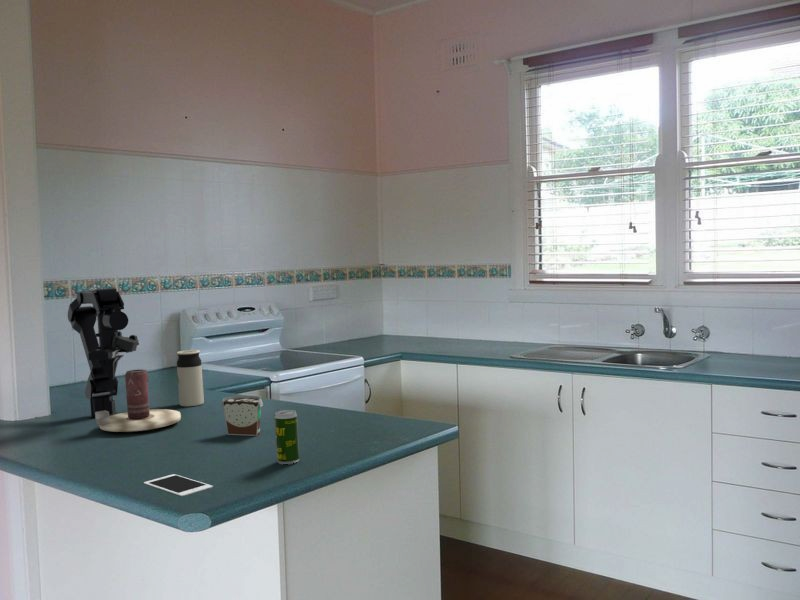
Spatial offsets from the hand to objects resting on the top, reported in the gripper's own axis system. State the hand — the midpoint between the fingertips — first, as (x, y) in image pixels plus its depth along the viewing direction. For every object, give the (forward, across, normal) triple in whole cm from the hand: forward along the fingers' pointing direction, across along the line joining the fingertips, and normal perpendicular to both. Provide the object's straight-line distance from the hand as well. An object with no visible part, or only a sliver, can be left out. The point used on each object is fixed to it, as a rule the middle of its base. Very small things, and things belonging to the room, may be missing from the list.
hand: (112, 379), depth 245 cm
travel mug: (+13, +22, -17) cm, 31 cm away
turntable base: (+13, -9, -12) cm, 20 cm away
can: (+11, -10, -11) cm, 18 cm away
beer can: (+15, -54, -64) cm, 85 cm away
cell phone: (+15, -70, -42) cm, 83 cm away
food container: (+14, -22, -47) cm, 53 cm away
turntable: (+12, -10, -11) cm, 19 cm away
